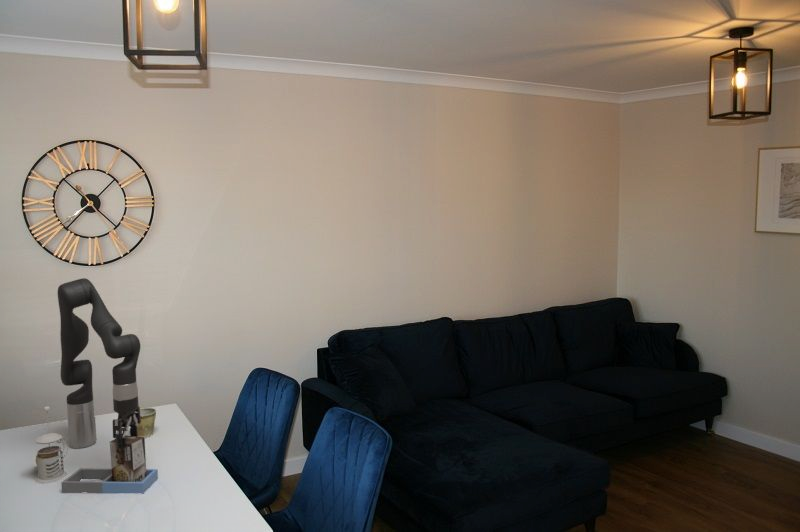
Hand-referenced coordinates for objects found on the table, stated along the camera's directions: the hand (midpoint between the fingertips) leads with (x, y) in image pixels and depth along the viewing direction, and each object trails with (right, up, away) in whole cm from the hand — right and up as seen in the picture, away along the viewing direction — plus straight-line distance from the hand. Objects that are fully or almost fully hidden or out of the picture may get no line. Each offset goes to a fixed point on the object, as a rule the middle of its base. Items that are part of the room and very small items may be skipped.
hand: (128, 443), depth 208 cm
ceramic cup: (-14, -10, +49) cm, 52 cm away
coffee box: (0, -15, +1) cm, 15 cm away
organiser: (-6, -15, +2) cm, 16 cm away
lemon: (-36, -14, +15) cm, 41 cm away
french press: (-30, -14, +10) cm, 35 cm away
